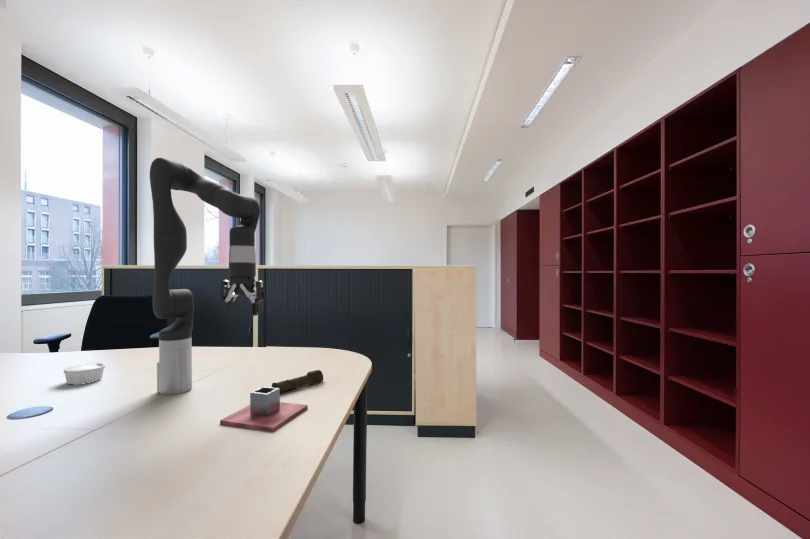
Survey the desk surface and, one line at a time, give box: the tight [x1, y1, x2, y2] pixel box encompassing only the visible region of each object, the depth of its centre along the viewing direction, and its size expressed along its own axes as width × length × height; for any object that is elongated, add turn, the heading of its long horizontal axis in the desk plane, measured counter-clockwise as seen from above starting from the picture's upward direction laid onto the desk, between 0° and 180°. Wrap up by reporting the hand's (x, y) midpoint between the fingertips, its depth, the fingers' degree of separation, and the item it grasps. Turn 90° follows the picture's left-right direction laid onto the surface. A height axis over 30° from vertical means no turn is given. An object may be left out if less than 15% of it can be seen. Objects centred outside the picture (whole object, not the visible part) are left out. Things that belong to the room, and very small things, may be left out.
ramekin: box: [63, 362, 106, 385], centre depth 137 cm, size 11×11×5 cm
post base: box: [219, 401, 309, 433], centre depth 105 cm, size 16×16×6 cm
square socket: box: [249, 386, 281, 417], centre depth 105 cm, size 5×5×6 cm
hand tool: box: [271, 369, 324, 394], centre depth 129 cm, size 19×4×5 cm, turn 136°
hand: (242, 314), depth 116 cm, fingers open, 8 cm apart
